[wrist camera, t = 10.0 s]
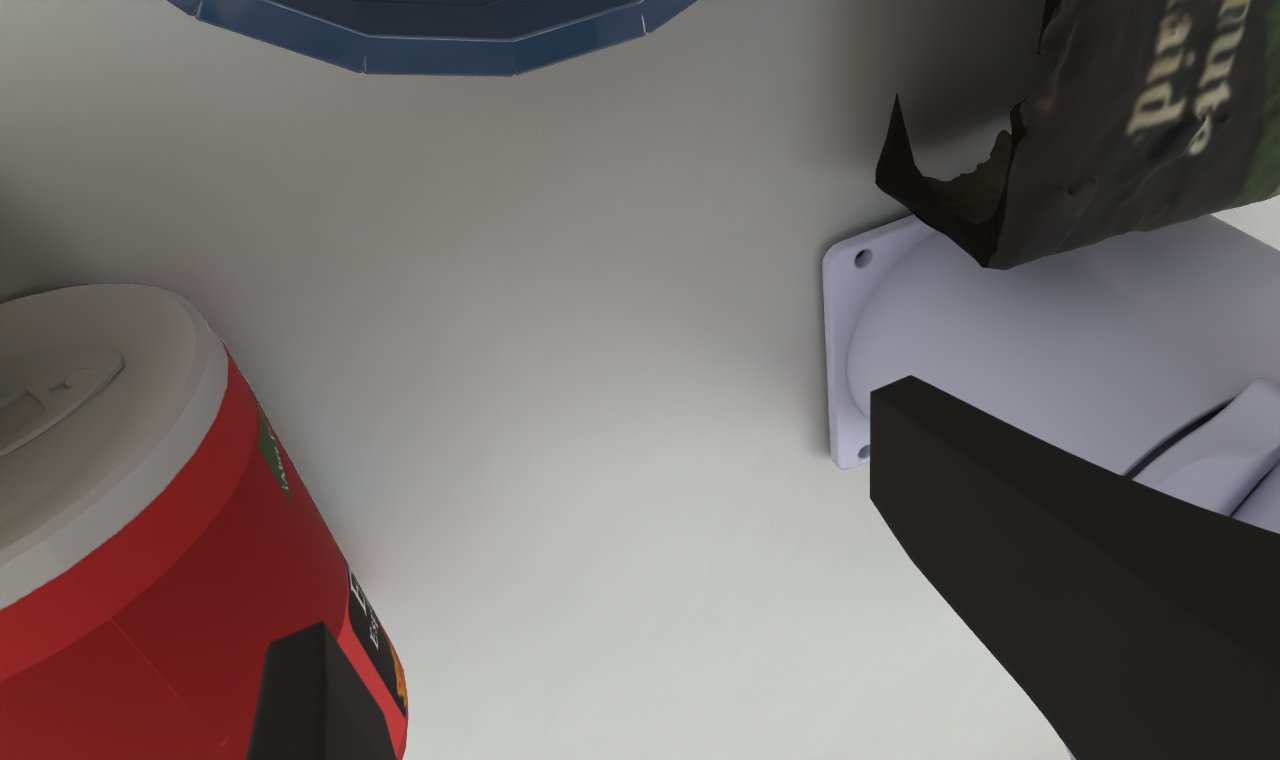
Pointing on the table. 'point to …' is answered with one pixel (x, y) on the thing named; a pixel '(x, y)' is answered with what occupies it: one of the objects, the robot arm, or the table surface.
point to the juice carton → (1115, 131)
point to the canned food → (152, 538)
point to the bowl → (438, 31)
